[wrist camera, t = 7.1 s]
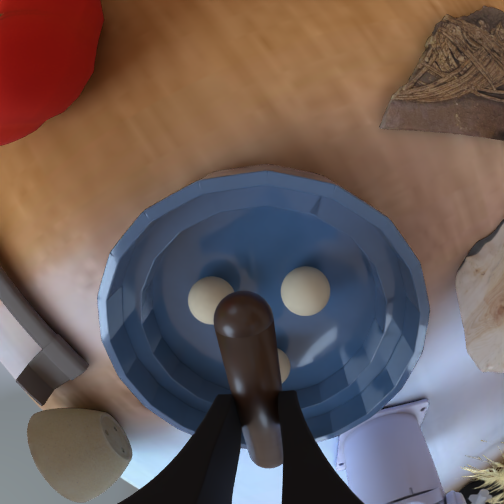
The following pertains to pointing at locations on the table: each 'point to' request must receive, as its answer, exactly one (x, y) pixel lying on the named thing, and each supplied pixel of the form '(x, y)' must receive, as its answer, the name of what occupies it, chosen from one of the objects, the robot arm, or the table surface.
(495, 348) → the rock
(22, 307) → the toilet paper hanger
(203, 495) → the robot arm
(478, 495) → the dumbbell
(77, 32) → the tomato
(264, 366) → the stick
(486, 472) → the spiky glass cluster
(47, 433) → the flower pot
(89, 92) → the table surface
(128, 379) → the bowl
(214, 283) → the dough ball
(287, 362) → the dough ball
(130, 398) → the table surface
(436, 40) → the brown flat piece
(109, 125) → the table surface
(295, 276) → the dough ball
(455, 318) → the table surface
